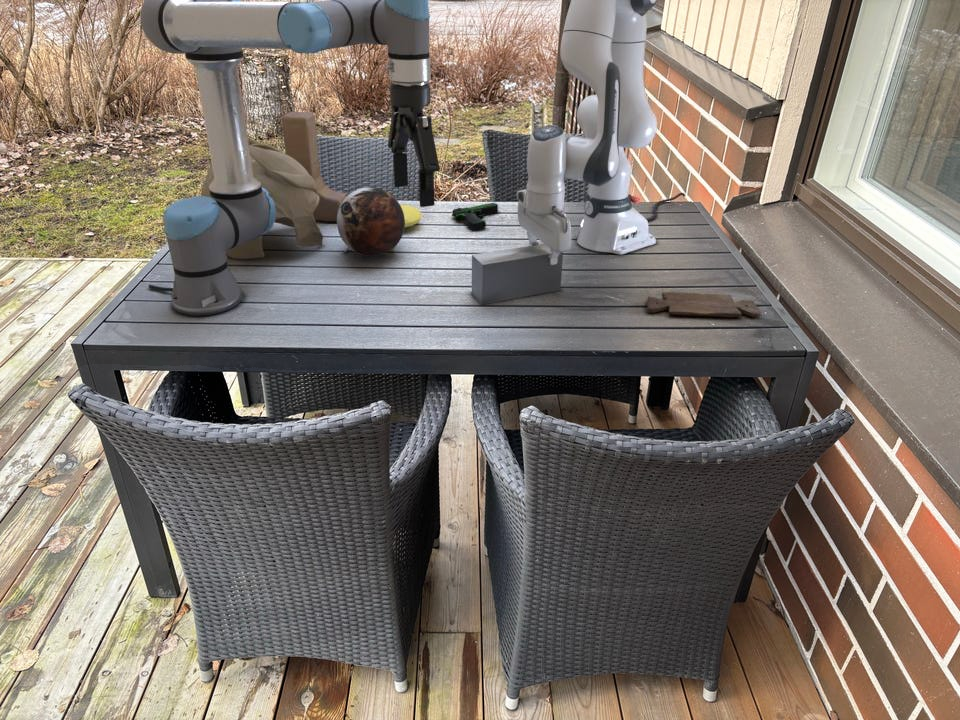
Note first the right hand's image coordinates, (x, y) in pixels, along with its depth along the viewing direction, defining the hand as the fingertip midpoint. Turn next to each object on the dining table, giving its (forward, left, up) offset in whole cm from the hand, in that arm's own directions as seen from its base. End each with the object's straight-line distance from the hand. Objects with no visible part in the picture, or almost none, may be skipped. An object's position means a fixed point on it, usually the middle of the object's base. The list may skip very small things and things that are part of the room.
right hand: (542, 256), depth 172 cm
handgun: (-8, -49, -8) cm, 51 cm away
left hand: (+35, +7, +21) cm, 42 cm away
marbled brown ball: (+30, -38, -8) cm, 49 cm away
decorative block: (+35, -71, -8) cm, 80 cm away
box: (+7, 0, -8) cm, 11 cm away
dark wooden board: (-28, +26, -8) cm, 39 cm away
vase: (+17, -56, -8) cm, 59 cm away
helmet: (+55, -55, -8) cm, 78 cm away
